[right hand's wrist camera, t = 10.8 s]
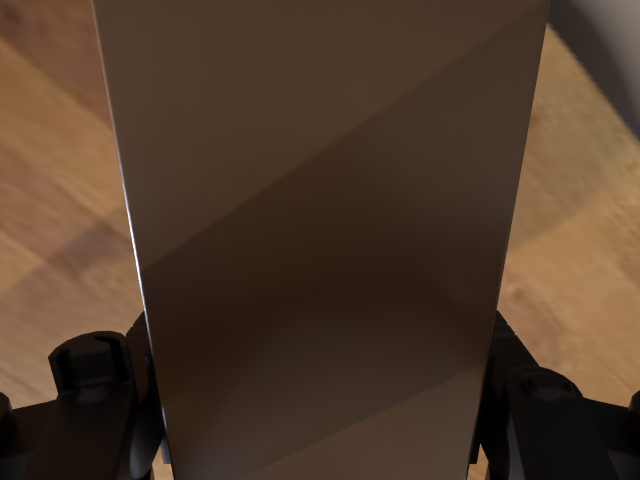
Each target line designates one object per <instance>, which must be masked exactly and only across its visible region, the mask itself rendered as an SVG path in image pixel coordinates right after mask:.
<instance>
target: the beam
mask: <svg viewBox="0 0 640 480" xmlns="http://www.w3.org/2000/svg"><path fill="white" fill-rule="evenodd" d="M90 1H91V7H92V13H93V18H94V24H95V30H96V36H97V41H98V47H99V53H100V59H101V64H102V70H103V76H104V82H105V87H106V93H107V99H108V105H109V110H110V116H111V122H112V128H113V133H114V139H115V145H116V151H117V156H118V162H119V168H120V174H121V179H122V185H123V191H124V196H125V202H126V208H127V214H128V219H129V225H130V231H131V237H132V242H133V248H134V254H135V260H136V265H137V271H138V277H139V283H140V288H141V294H142V300H143V306H144V311H145V317H146V323H147V329H148V334H149V340H150V346H151V352H152V357H153V363H154V369H155V375H156V380H157V386H158V392H159V397H160V403H161V409H162V415H163V420H164V426H165V432H166V438H167V443H168V449H169V455H170V461H171V466H172V472H173V478H174V480H467V476H468V470H469V464H470V458H471V453H472V447H473V441H474V436H475V430H476V424H477V418H478V413H479V407H480V401H481V396H482V390H483V384H484V378H485V373H486V367H487V361H488V355H489V350H490V344H491V338H492V333H493V327H494V321H495V315H496V310H497V304H498V298H499V292H500V287H501V281H502V275H503V270H504V264H505V258H506V252H507V247H508V241H509V235H510V230H511V224H512V218H513V212H514V207H515V201H516V195H517V189H518V184H519V178H520V172H521V167H522V161H523V155H524V149H525V144H526V138H527V132H528V126H529V121H530V115H531V109H532V104H533V98H534V92H535V86H536V81H537V75H538V69H539V63H540V58H541V52H542V46H543V41H544V35H545V29H546V23H547V18H548V12H549V6H550V0H90Z"/></svg>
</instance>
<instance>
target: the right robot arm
mask: <svg viewBox="0 0 640 480" xmlns="http://www.w3.org/2000/svg"><path fill="white" fill-rule="evenodd" d="M48 359H49V363H50V366H51V370H52V373H53V377H54V380H55V384H56V387H57V391H58V396H57V399H56V400H52V401H49V402H45V403H40V404H36V405H31V406H26V407H22V408H17V409H12V407H11V404H10V401H9V398H8V397H7V396H6V395H4V394H3V393H2V392H0V480H155V479H154V472H153V467H152V462H153V460H154V458H155V455H156V453H157V451H158V448H159V446H161V452H162V457H163V463H164V464H171V461H170V455H169V449H168V443H167V438H166V432H165V426H164V420H163V415H162V409H161V403H160V397H159V392H158V386H157V380H156V375H155V369H154V363H153V357H152V352H151V346H150V340H149V334H148V329H147V323H146V317H145V311H144V312H142V313H141V315H140V316H139V317H138V319H137V320H136V321H135V323H134V324H133V327H131V328H130V330H129V331H128V332H127V334H126V337H125V336H124V335H122V334H121V333H118V332H113V331H96V332H91V333H87V334H82V335H80V336H77V337H75V338H72V339H70V340H67V341H66V342H64V343H63V344H61V345H60V346H58V347H57V348H55V349H54V351H53V352H52V353H51V354H50V355H49V356H48ZM480 443H481V446H482V448H483V450H484V452H485V455H486V457H487V459H488V467H487V472H486V477H485V480H640V391H638V392H637V393H636V394H634V395H633V396H632V399H631V402H630V405H629V408H627V407H623V406H618V405H613V404H609V403H604V402H599V401H595V400H591V399H587V398H584V397H583V395H582V393H581V392H580V391H579V389H578V388H577V387H576V385H575V384H574V383H573V382H571V381H570V380H569V379H567V378H566V377H565V376H563V375H561V374H559V373H557V372H555V371H552V370H550V369H547V368H543V367H540V366H539V365H538V364H537V362H536V361H535V360H534V358H533V357H532V355H531V354H530V353H529V351H528V350H527V349H526V347H525V346H524V345H523V343H522V342H521V341H520V339H519V338H518V337H517V335H515V333H514V331H513V330H512V329H511V327H510V326H509V325H507V322H506V321H505V319H504V318H503V317H502V315H501V314H500V313H499V311H498V310H496V315H495V321H494V327H493V333H492V338H491V344H490V350H489V355H488V361H487V367H486V373H485V378H484V384H483V390H482V396H481V401H480V407H479V413H478V418H477V424H476V430H475V436H474V441H473V447H472V453H471V458H470V464H477V459H478V453H479V448H480Z"/></svg>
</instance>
